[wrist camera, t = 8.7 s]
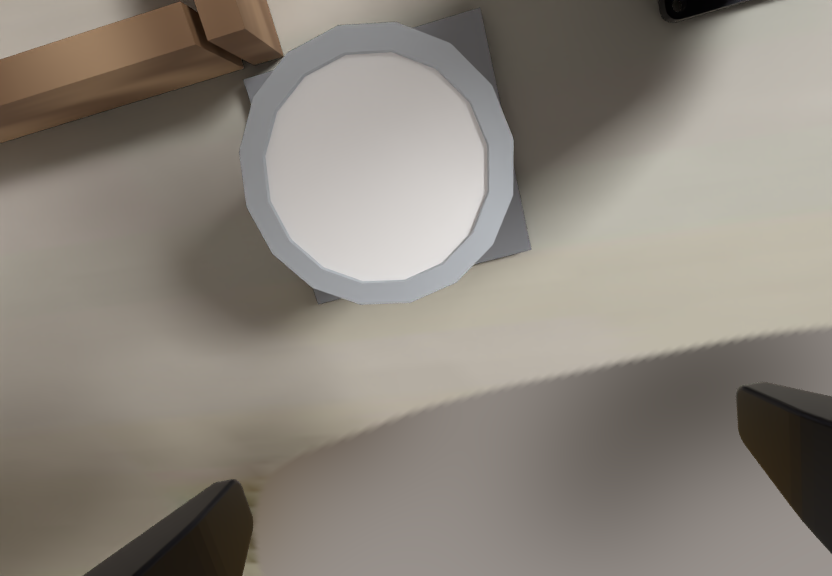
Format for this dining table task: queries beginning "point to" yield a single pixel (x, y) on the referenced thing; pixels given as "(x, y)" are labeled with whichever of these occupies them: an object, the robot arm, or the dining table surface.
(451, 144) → the white cup
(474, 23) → the coaster
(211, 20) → the brown wooden u-shaped piece
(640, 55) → the dining table surface
